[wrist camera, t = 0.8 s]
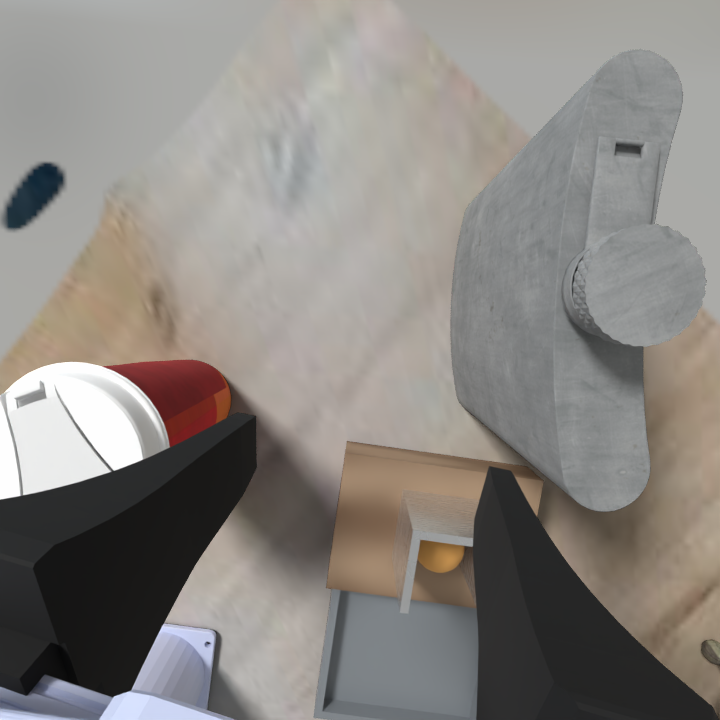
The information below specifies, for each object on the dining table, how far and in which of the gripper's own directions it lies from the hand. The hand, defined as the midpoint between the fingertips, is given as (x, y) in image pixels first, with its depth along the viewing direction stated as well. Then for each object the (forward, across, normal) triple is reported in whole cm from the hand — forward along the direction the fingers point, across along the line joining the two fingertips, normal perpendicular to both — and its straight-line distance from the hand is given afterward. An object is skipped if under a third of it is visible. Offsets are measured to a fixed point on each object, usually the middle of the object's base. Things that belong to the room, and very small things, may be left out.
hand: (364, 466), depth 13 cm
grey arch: (+13, -4, +15) cm, 20 cm away
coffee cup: (+15, +16, +10) cm, 24 cm away
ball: (+12, -4, +15) cm, 19 cm away
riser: (+16, -3, +17) cm, 23 cm away
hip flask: (+22, -4, +1) cm, 22 cm away
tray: (+12, -4, +27) cm, 30 cm away
